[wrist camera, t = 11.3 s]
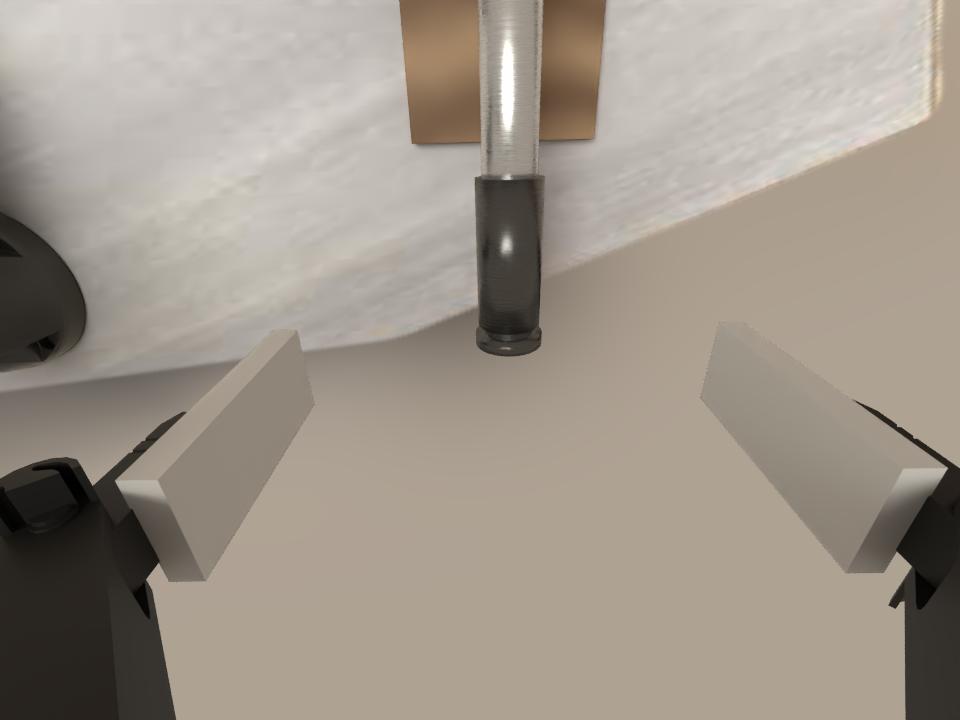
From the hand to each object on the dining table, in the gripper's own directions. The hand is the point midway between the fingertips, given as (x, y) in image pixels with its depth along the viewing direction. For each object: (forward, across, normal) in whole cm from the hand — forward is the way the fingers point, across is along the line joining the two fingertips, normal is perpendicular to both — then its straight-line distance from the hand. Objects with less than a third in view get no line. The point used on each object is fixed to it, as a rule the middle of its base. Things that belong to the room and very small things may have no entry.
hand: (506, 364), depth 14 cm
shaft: (+17, -1, -8) cm, 19 cm away
